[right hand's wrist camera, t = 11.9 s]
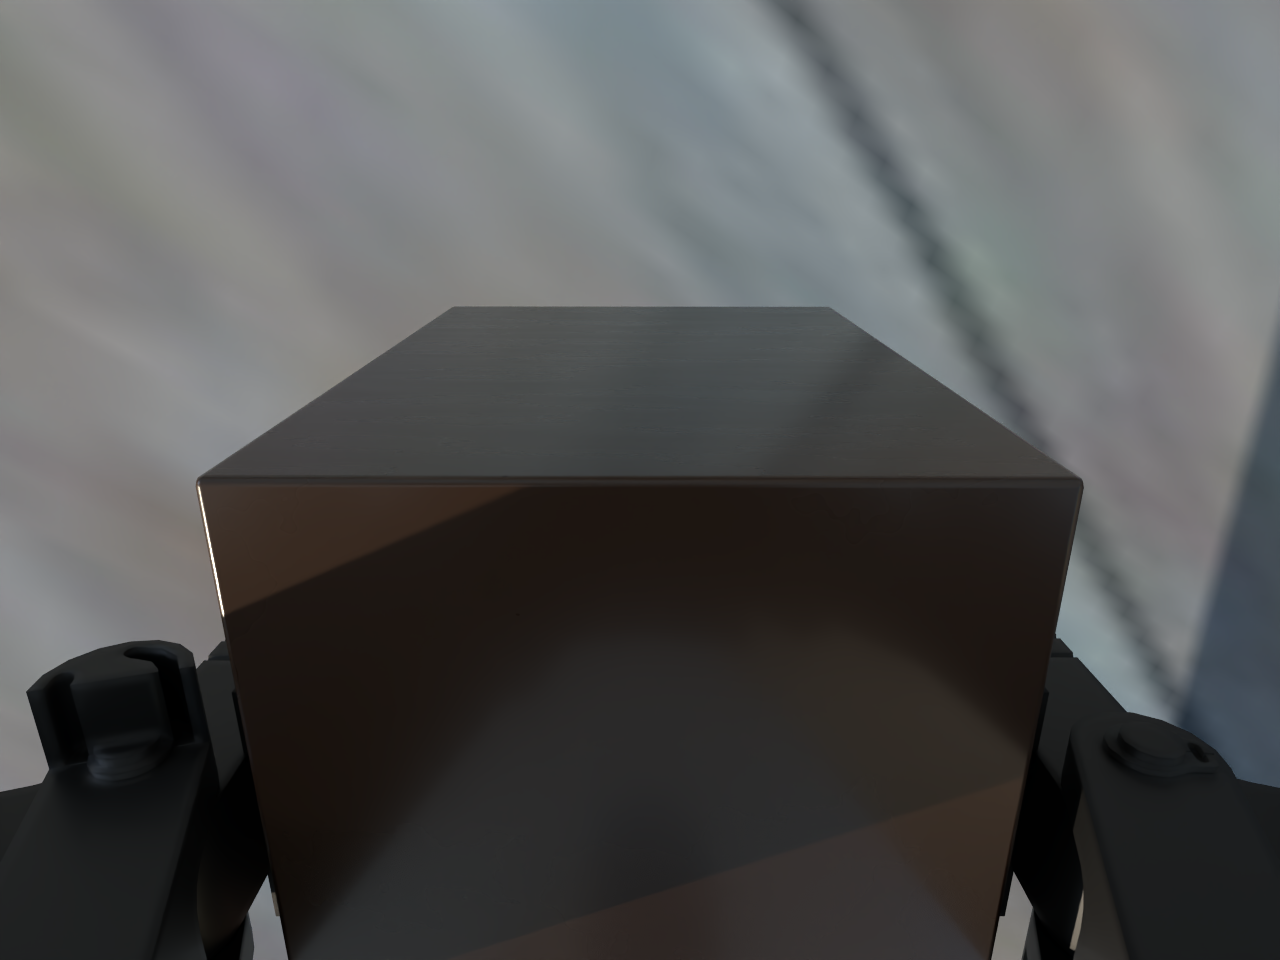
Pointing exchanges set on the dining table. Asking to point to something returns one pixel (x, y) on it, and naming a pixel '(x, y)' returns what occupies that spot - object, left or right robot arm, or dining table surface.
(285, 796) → the walnut beam
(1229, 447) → the dining table surface
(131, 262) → the dining table surface
